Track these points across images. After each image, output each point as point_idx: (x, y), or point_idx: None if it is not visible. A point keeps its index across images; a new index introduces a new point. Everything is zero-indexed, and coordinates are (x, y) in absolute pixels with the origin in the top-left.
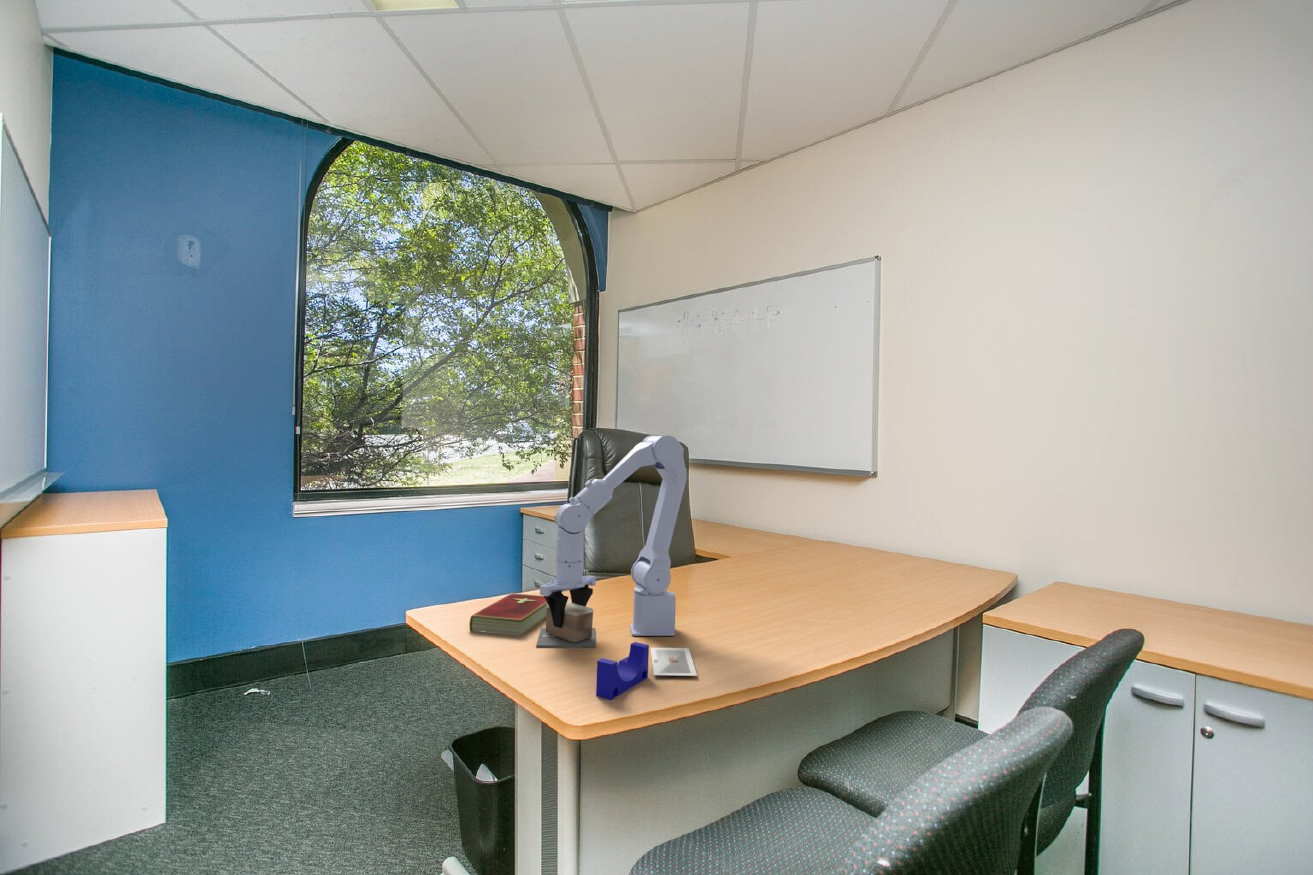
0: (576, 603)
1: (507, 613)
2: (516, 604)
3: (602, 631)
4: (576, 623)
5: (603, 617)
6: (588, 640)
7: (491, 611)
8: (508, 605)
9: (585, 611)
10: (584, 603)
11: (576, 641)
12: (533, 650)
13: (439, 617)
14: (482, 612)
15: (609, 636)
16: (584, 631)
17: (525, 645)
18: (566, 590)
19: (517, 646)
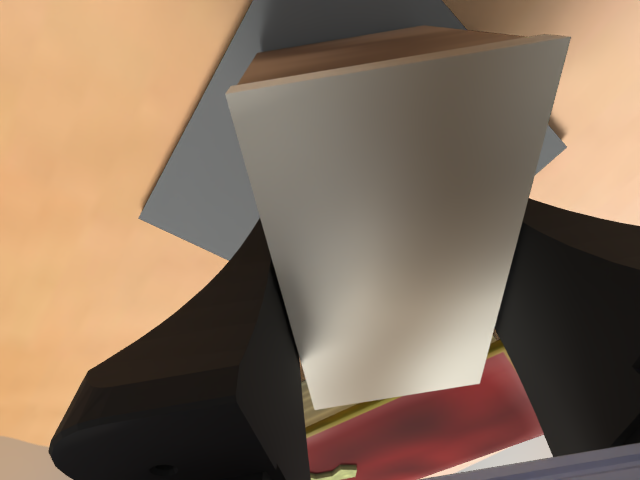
0: (289, 330)
1: (468, 413)
2: (364, 464)
3: (109, 166)
4: (475, 36)
5: (26, 332)
6: (300, 28)
7: (484, 438)
8: (393, 462)
9: (383, 65)
10: (246, 280)
11: (405, 29)
12: (607, 110)
13: (483, 458)
14: (512, 438)
15: (98, 50)
16: (340, 46)
17: (559, 194)
18: (544, 462)
19: (588, 201)
